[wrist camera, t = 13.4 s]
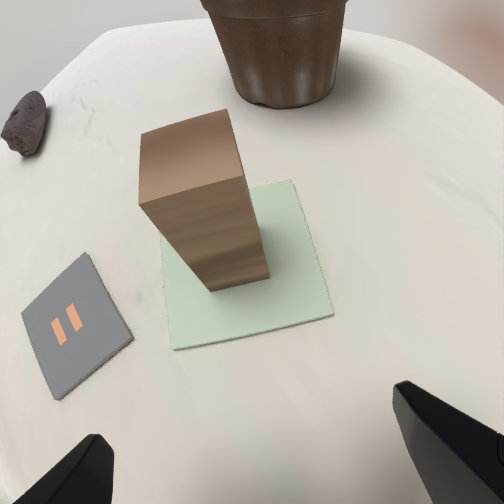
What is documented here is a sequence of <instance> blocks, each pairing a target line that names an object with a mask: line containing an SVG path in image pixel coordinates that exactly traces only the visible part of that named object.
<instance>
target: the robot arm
mask: <svg viewBox="0 0 504 504" xmlns="http://www.w3.org/2000/svg"><path fill="white" fill-rule="evenodd" d="M393 409H394V412H395V415H396V418H397V420H398V423H399V426H400V429H401V432H402V435H403V438H404V441H405V444H406V446H407V449H408V452H409V454H410V456H411V458H412V460H413V462H414V464H415V466H416V469H417V471H418V473H419V475H420V477H421V479H422V481H423V483H424V485H425V487H426V489H427V492H428V494H429V496H430V498H431V500H432V502H433V504H504V435H502V434H500V433H497V431H495V430H493V429H491V428H489V427H488V426H486V425H484V424H482V423H481V422H479V421H477V420H475V419H474V418H472V417H470V416H468V415H466V414H465V413H463V412H461V411H460V410H458V409H456V408H454V407H453V406H451V405H449V404H447V403H446V402H444V401H442V400H441V399H439V398H437V397H435V396H434V395H432V394H430V393H429V392H427V391H425V390H424V389H422V388H420V387H418V386H417V385H415V384H413V383H412V382H410V381H407V380H406V381H403V382H400V383H397V384H395V385H394V388H393ZM113 471H114V451H113V449H112V448H111V446H110V445H109V444H108V443H107V442H106V440H105V439H104V438H103V437H102V436H101V435H100V434H89V435H87V436H86V437H85V438H84V439H83V440H82V441H81V442H80V443H79V444H78V445H77V446H76V447H74V448H73V449H72V450H71V451H70V452H69V453H68V454H67V455H66V456H65V457H64V458H63V459H61V460H60V461H59V462H58V463H57V464H56V465H55V466H54V467H53V468H52V469H51V470H50V471H48V472H47V473H46V474H45V475H44V476H43V477H42V478H41V479H40V480H39V481H37V482H36V483H35V484H34V485H33V486H32V487H31V488H30V489H29V490H28V491H26V492H25V494H23V495H22V496H21V497H20V498H19V499H17V500H16V501H15V502H14V503H13V504H111V502H112V493H113Z"/></svg>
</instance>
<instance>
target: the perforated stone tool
mask: <svg viewBox="0 0 504 504" xmlns="http://www.w3.org/2000/svg"><path fill="white" fill-rule="evenodd" d="M45 122H46V103H45V100H44V98H43V96H42V95H41V94H40V93H39V92H37V91H32V92H29V93H28V94H26V95H25V96H24V97H23V98H22V99H21V100H20V102H19V103H18V104H17V105H16V107H15V108H14V110H13V111H12V112H11V114H10V116H9V119H8V120H7V121H6V124H5V126H4V129H3V131H2V133H1V137H2V138H3V139H4V140H5V141H6V142H7V144H8V145H9V148H10V149H11V150H13V151H17V152H19V153H20V154H21V156H25V155H29V154H32V153H35V151H36V149H37V147H38V145H39V143H40V141H41V139H42V135H43V131H44V127H45Z"/></svg>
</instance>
